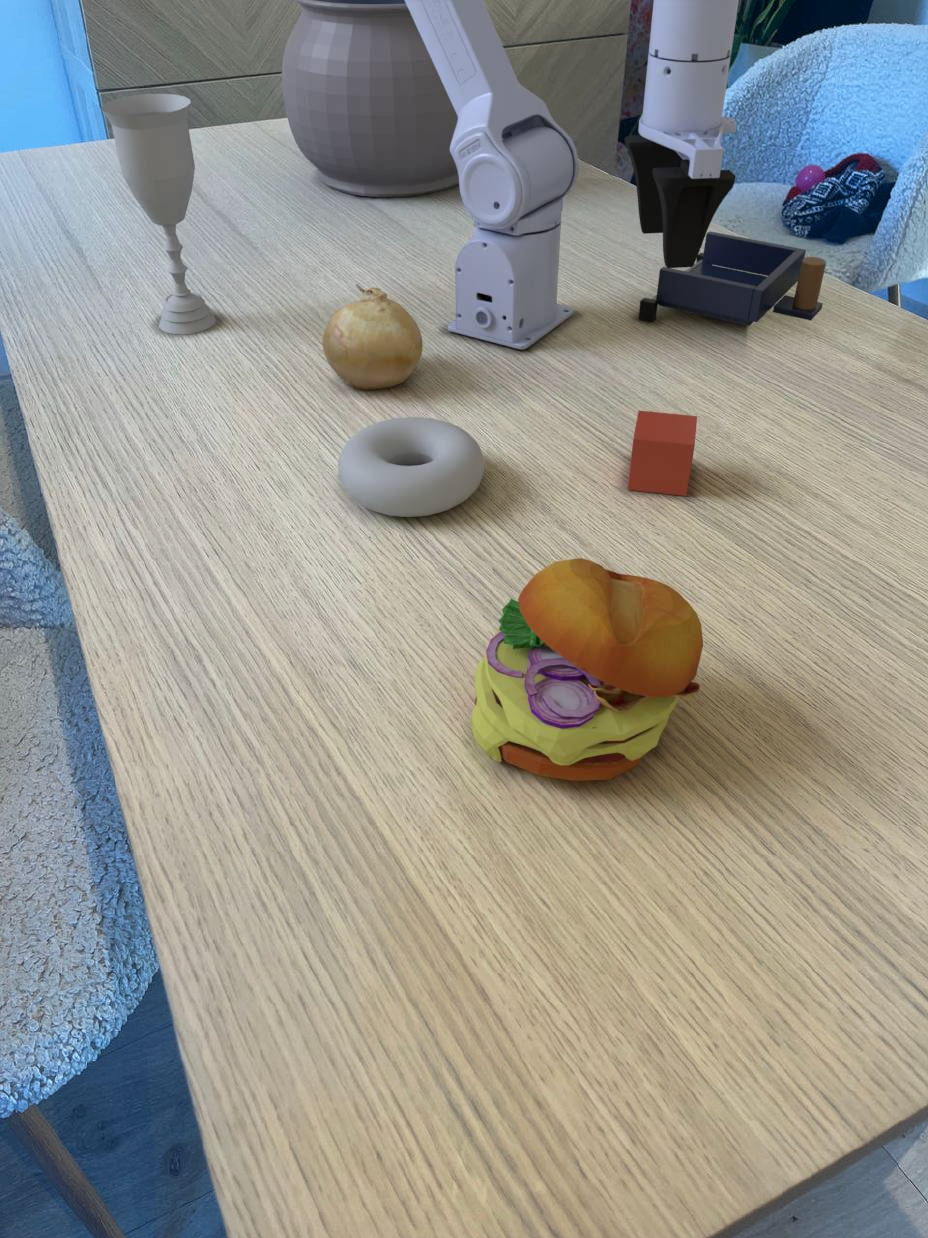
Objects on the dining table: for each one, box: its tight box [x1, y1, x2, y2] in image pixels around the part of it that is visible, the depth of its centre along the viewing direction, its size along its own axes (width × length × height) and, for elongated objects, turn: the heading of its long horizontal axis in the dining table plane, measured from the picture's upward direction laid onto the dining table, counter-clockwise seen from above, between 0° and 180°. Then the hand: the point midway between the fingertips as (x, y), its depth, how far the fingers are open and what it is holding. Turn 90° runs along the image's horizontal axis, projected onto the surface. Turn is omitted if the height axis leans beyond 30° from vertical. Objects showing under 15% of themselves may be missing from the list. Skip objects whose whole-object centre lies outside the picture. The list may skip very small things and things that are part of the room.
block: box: [627, 410, 698, 497], centre depth 69 cm, size 4×4×4 cm
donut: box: [337, 416, 486, 518], centre depth 69 cm, size 10×4×10 cm
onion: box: [321, 283, 424, 391], centre depth 80 cm, size 8×8×7 cm
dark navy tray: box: [651, 230, 827, 327], centre depth 91 cm, size 12×14×5 cm
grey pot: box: [281, 0, 459, 198], centre depth 119 cm, size 25×25×20 cm
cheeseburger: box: [470, 557, 704, 782], centre depth 50 cm, size 10×11×10 cm
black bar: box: [637, 252, 712, 323], centre depth 95 cm, size 14×1×2 cm, turn 148°
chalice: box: [101, 93, 217, 335], centre depth 86 cm, size 7×7×18 cm
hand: (666, 248), depth 80 cm, fingers open, 7 cm apart
